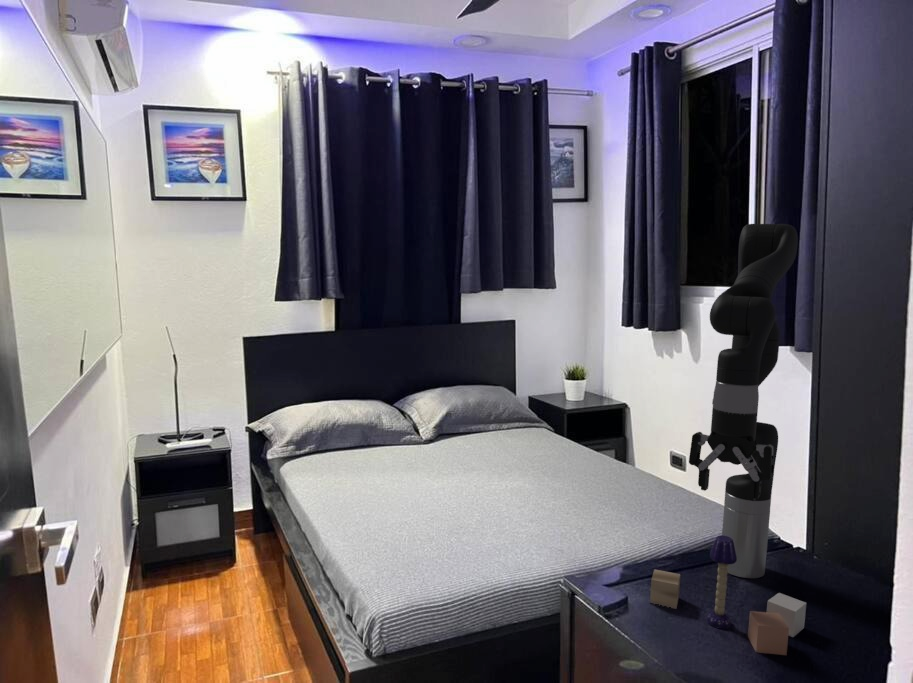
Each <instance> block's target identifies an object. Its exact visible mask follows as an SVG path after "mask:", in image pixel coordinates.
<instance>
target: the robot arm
mask: <svg viewBox="0 0 913 683" xmlns="http://www.w3.org/2000/svg"><path fill="white" fill-rule="evenodd" d="M740 232H741V233H740V236H739V239H738V240H739V242H738V255H737V256H738V258H737V260H738V262H737V263H738V264H737V276H736V279H735V281H734V283H733V284H732V286H730V287H729V288H728V289H727V288H726V290H725V291H723V292H721V294H719V295H718V296H717V297H716V299H715V300H714V302H713V303H712V306H711V308H710V311H709V323H710V325H711V327H712V329H713V330H714V331H715V332H716V333H717V334H721V335H726V336H727V335H728V336H732V338H731V339H732V341H731V342H732V343H731V348H725V349H722V350H720V351H719V352H718V356H717V365H716V379H715V380H716V381H715V386H714V391H713V398H712V410H711V412H712V413H711V425H710V433H709V435H708V434H704V433H703V432H702V431H697V432H696V433H693V434H692V435H691V436H692V437H691V442H690V449H689V457H688V464H690V465H691V466H695V467H696V468H697V469H698V481H697V482H698V484H697V485H698V487H699V488H700V490H701V491H704V492H705V491H707V490H708V489H709V485H710V472H711V471H710V469H709V467H710V466H711V464H712V463H714V462H715V461H716V460H717V459H718V460H719V461H720V463H731V464H732V465H737V466H739V465H742V467H743V469H744V470H745V471H746V472H747V473H742V474H735V475H732V476H729V477H728V478H727V479H726V480H725V488H724V489H725V490H724V500H723V501H724V504H723V505H724V506H723V517H722V529H721V535H722V536H728V537H730V538H732V540H733V542H734V547H735V552H736V557H737V561H736V562H735V563H734V564H728V567H727V569H728V573H727V574H729V575H733V576H736V577H739V578H744V579H759V578H761V577H763V576H765V572H766V562H767V561H766V560H767V552H768V540H769V539H768V538H769V530H770V529H769V527H770V518H771V517H770V516H771V515H770V514H771V502H772V493H773V485H774V484H773V483H774V476H775V466H776V461H777V460H776V458H777V453H778V447H779V432H778V428H777V427H776V426H775V425H774V424H771V423H766V422H760V421H758V413H759V412H758V410H759V397H760V395H759V387H760V385H761V384H763V382H764V381H765V380H766V379H767V378H768V376H769V375H770V374H771V372H772V371H773V370H774V369H775V367H776V365H777V363H778V360H779V359H778V358H779V351H780V338H781V330H780V327H779V324H778V323H777V321H776V314H777V312H776V308H775V305H774V303H773V301H771V300H772V297H773V295H774V291H775V289H776V286H777V285H778V283H779V282H780V281H781V279H782V278H784V276H785V275H786V274H787V272H788V271H789V270H790V268H791V267H792V265H793V263H794V262H795V259H796V256H797V253H798V245H799V244H798V243H799V241H798V240H799V239H798V231H797V229H796V227H795V226H793V225H791V224H787V223H747V224H745V225H744V226H743V227H742V230H741V231H740ZM706 442H707V443H708V445H709V447H710V449H711V452H710V453H709V454H708V455H707V456H706V457H705V459H704V460H703V459H702V458H701V451H702V446H704V445H706Z"/></svg>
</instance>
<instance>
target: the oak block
mask: <svg viewBox="0 0 913 683" xmlns="http://www.w3.org/2000/svg"><path fill="white" fill-rule="evenodd" d="M680 581H681V574H680V573H676V572H671V571H666V570H665V571H664V570H659V569H653V573H652V576H651V581H650V582H651V583H650V593H649V594H650V597H649V598H650V599H649V603H650V602H651V603H654V604H653V605H655V604H659V605H658V606H660V605H662V606H661V607H664V606H667V607H666V608H669V607H671V608H670V609H675V610H677V607H678V604H679V597H680V586H681V585H680Z"/></svg>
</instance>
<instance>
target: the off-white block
mask: <svg viewBox="0 0 913 683" xmlns="http://www.w3.org/2000/svg"><path fill="white" fill-rule="evenodd" d="M806 610H807V602H806V601H802V600H799V599H797V598H794V597H792V596H789V595H786V594H784V593H781V592H778V593H776V594H775V595H774V596H772V597H771V598H769V599H768V600H767V604H766V612H768V613H779V614H780V616H781V617H782V619H783V620H784V622H785V623H786V625H787V626H788V628H789V633H788V637H791V638H794V637H796V636H797V635H798V634H799V633H800V632H801V631H802V630H803V629H804V628H805V623H806V622H805V620H806Z"/></svg>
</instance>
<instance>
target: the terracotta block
mask: <svg viewBox="0 0 913 683" xmlns="http://www.w3.org/2000/svg"><path fill="white" fill-rule="evenodd" d="M788 633H789V628H788V626H787V625H786V623H785V622H784V620H783V619H782V617H781V616H780V614H779V613H768V612H767V611H766V612H765V611H756V610H755V611H753V610H750V611H749V618H748V631H747V638H748V640H749V642H750V643H751V645H752V648H753V649H754V651H755V653H760V654H771V655H781V656H787V655H788V654H787V653H788V644H789V642H788V641H789V636H788Z"/></svg>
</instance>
